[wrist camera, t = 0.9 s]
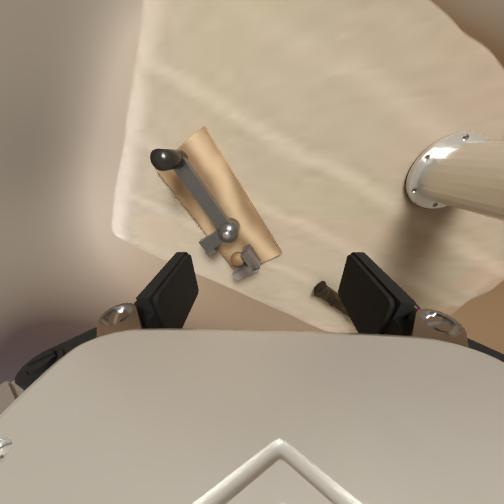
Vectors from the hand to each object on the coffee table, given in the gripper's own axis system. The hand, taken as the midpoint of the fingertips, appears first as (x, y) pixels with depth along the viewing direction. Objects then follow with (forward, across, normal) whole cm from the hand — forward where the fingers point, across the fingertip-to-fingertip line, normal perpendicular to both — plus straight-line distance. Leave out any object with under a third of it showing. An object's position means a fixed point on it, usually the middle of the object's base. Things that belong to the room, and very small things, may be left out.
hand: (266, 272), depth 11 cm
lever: (+29, +14, +3) cm, 32 cm away
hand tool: (+30, -22, +30) cm, 48 cm away
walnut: (+29, +6, +16) cm, 34 cm away
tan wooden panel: (+30, +9, +5) cm, 32 cm away
